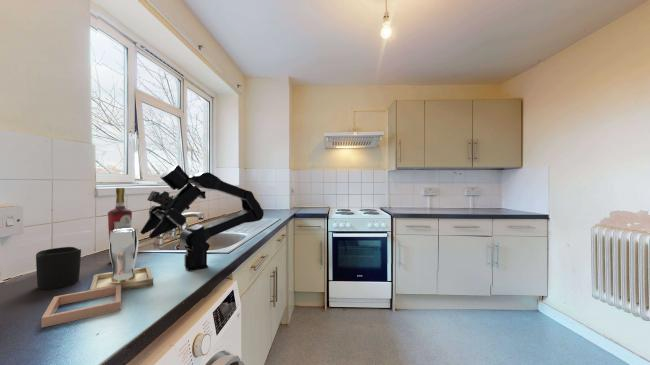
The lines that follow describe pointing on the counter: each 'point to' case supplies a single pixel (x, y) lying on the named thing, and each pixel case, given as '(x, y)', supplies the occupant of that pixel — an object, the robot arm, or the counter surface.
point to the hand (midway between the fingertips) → (145, 235)
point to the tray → (141, 280)
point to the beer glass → (123, 254)
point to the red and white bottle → (119, 214)
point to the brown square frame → (67, 316)
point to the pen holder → (58, 267)
